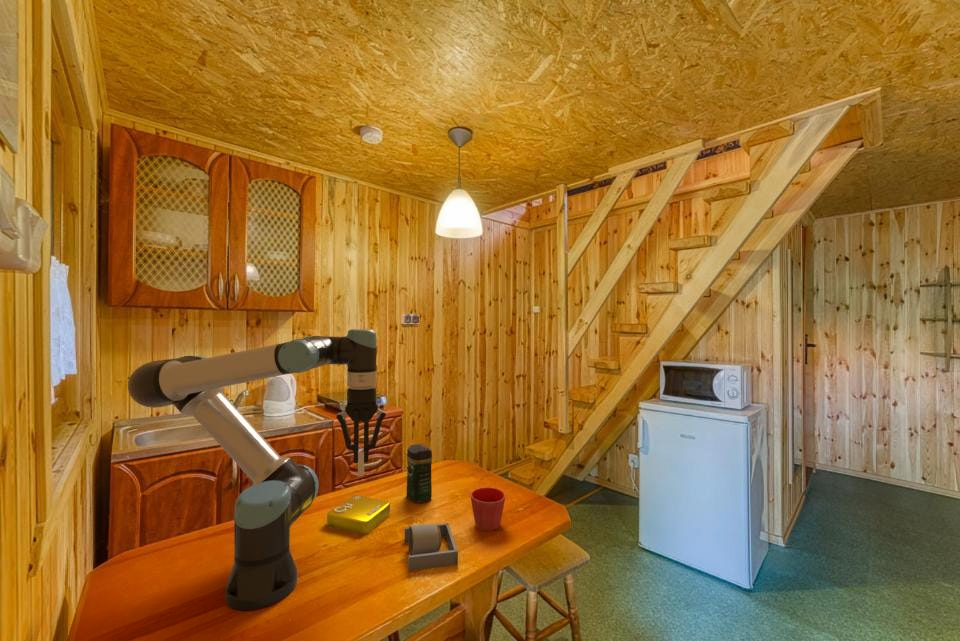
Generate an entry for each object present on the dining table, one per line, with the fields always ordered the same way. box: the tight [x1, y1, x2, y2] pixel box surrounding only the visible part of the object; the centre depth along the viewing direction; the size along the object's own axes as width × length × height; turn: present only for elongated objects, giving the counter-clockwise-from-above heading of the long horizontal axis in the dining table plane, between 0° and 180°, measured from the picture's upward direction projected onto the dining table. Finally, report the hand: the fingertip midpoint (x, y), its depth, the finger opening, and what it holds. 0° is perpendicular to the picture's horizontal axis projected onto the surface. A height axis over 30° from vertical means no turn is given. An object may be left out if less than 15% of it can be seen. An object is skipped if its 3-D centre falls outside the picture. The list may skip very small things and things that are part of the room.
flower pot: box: [470, 486, 506, 532], centre depth 129 cm, size 11×11×10 cm
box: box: [404, 522, 459, 572], centre depth 114 cm, size 13×15×4 cm
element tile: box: [326, 494, 391, 536], centre depth 131 cm, size 15×15×5 cm
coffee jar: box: [406, 443, 433, 503], centre depth 147 cm, size 10×8×19 cm
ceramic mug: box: [407, 523, 442, 556], centre depth 115 cm, size 11×8×8 cm
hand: (361, 474), depth 111 cm, fingers closed
